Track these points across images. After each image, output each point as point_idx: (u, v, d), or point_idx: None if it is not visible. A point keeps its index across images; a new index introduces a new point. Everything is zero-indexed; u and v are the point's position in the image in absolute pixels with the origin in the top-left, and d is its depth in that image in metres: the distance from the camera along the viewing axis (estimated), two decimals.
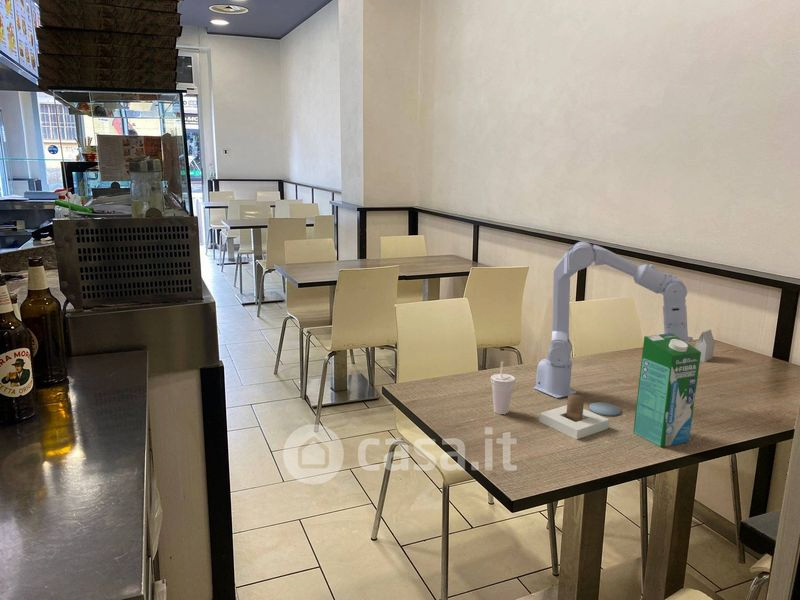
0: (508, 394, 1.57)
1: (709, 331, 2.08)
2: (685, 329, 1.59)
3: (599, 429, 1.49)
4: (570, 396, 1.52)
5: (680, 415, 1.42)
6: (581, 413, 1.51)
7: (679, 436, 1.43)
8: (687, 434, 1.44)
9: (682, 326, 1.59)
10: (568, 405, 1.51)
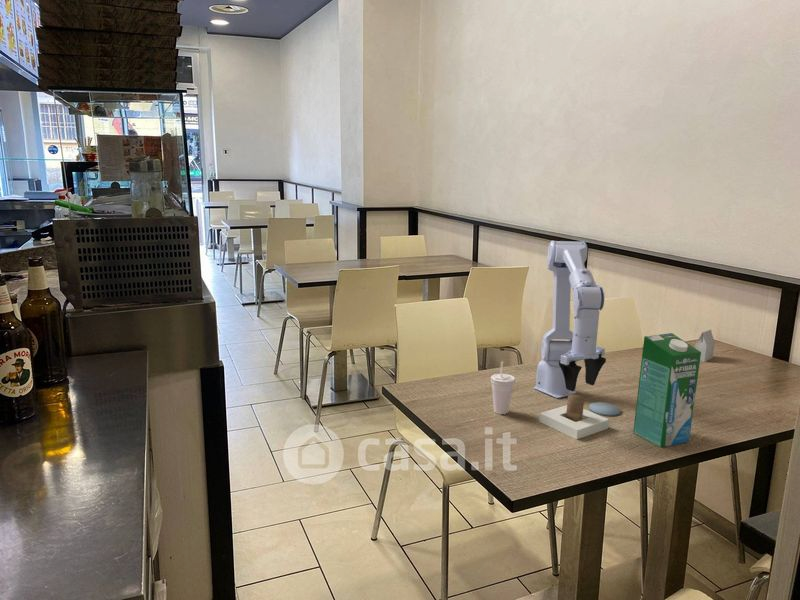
0: (508, 394, 1.57)
1: (709, 331, 2.08)
2: (586, 344, 1.45)
3: (599, 429, 1.49)
4: (570, 396, 1.52)
5: (680, 415, 1.42)
6: (581, 413, 1.51)
7: (679, 436, 1.43)
8: (687, 434, 1.44)
9: (582, 339, 1.45)
10: (568, 405, 1.51)
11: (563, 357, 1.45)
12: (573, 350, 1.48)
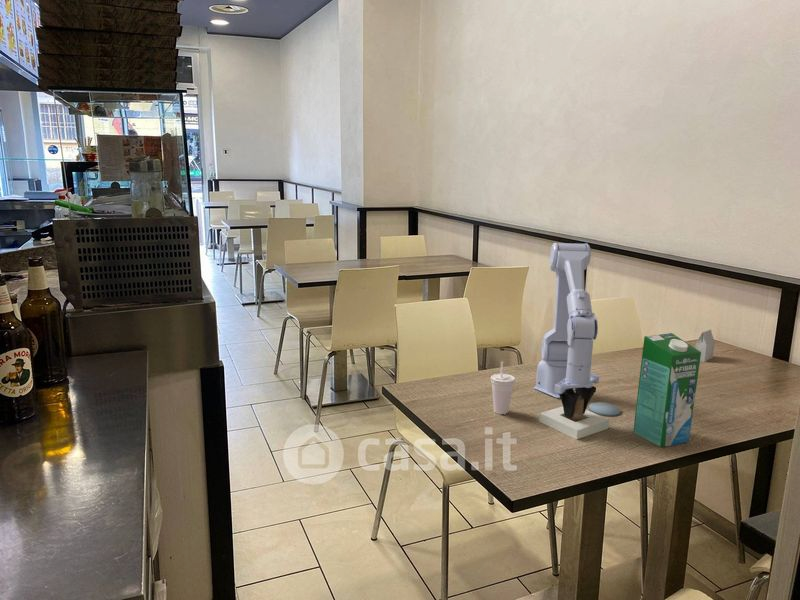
0: (508, 394, 1.57)
1: (709, 331, 2.08)
2: (580, 373, 1.47)
3: (599, 429, 1.49)
4: None
5: (680, 415, 1.42)
6: (581, 413, 1.51)
7: (679, 436, 1.43)
8: (687, 434, 1.44)
9: (576, 368, 1.47)
10: None
11: (557, 386, 1.47)
12: (567, 378, 1.50)
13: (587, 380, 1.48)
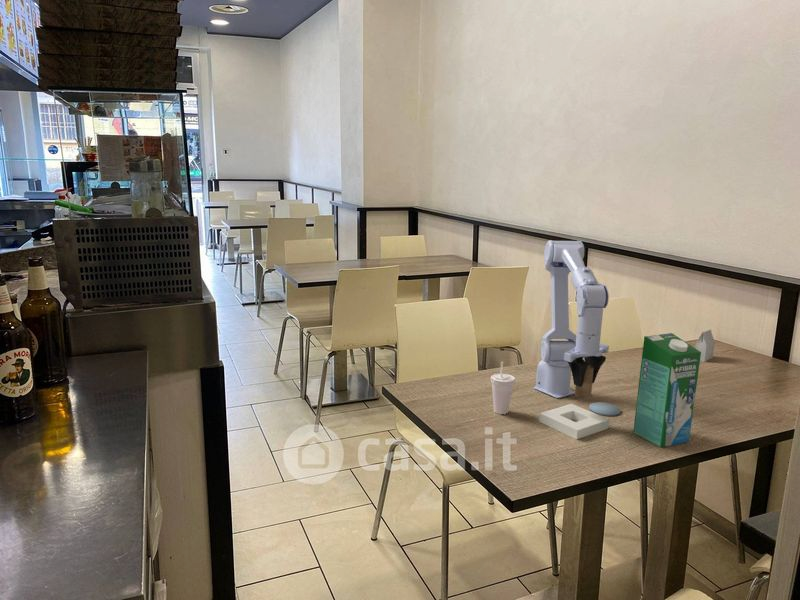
0: (508, 394, 1.57)
1: (709, 331, 2.08)
2: (590, 341, 1.48)
3: (599, 429, 1.49)
4: None
5: (680, 415, 1.42)
6: (591, 382, 1.51)
7: (679, 436, 1.43)
8: (687, 434, 1.44)
9: (586, 337, 1.48)
10: None
11: (567, 354, 1.47)
12: (577, 347, 1.50)
13: (597, 349, 1.49)
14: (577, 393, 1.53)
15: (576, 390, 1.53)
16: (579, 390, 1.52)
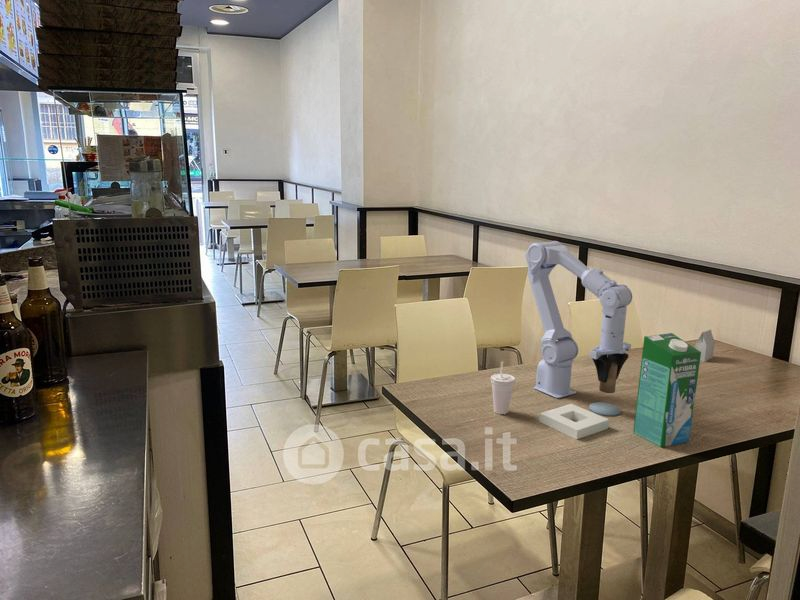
0: (508, 394, 1.57)
1: (709, 331, 2.08)
2: (614, 339, 1.56)
3: (599, 429, 1.49)
4: None
5: (680, 415, 1.42)
6: (615, 378, 1.59)
7: (679, 436, 1.43)
8: (687, 434, 1.44)
9: (610, 335, 1.56)
10: None
11: (592, 352, 1.55)
12: (601, 345, 1.58)
13: (620, 346, 1.57)
14: (601, 389, 1.60)
15: (601, 386, 1.61)
16: (604, 386, 1.60)
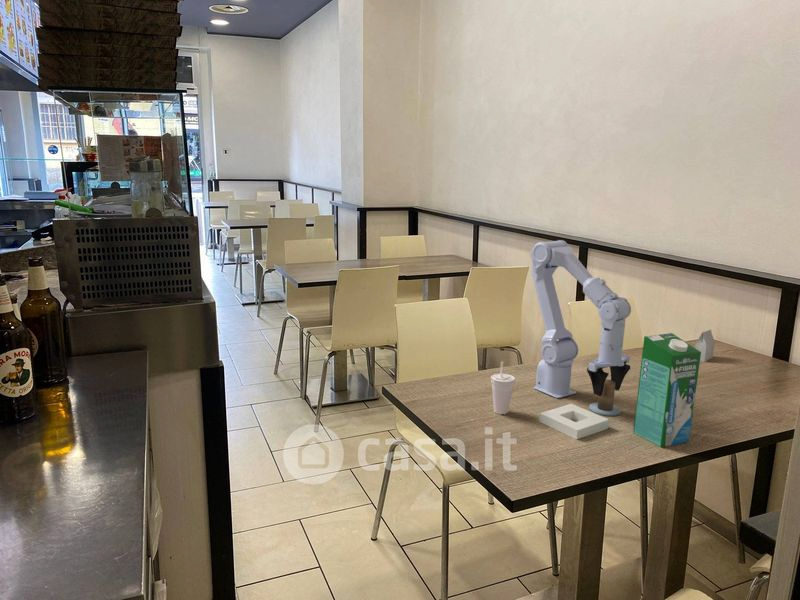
0: (508, 394, 1.57)
1: (709, 331, 2.08)
2: (613, 352, 1.56)
3: (599, 429, 1.49)
4: None
5: (680, 415, 1.42)
6: (612, 396, 1.60)
7: (679, 436, 1.43)
8: (687, 434, 1.44)
9: (609, 348, 1.56)
10: None
11: (591, 364, 1.56)
12: (600, 358, 1.59)
13: (619, 359, 1.57)
14: (599, 407, 1.62)
15: (599, 404, 1.62)
16: (602, 404, 1.61)
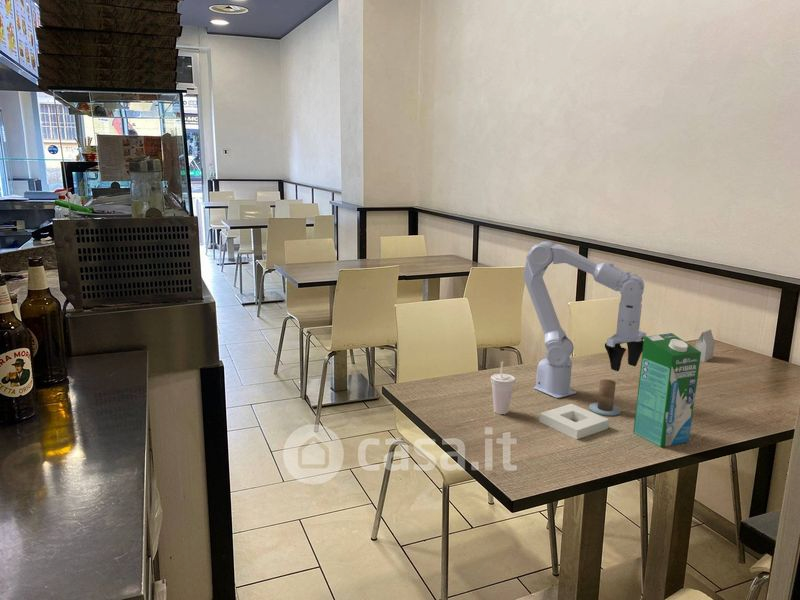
0: (508, 394, 1.57)
1: (709, 331, 2.08)
2: (630, 328, 1.60)
3: (599, 429, 1.49)
4: (602, 381, 1.62)
5: (680, 415, 1.42)
6: (612, 397, 1.60)
7: (679, 436, 1.43)
8: (687, 434, 1.44)
9: (627, 324, 1.60)
10: (600, 389, 1.61)
11: (609, 340, 1.60)
12: (618, 334, 1.63)
13: (636, 335, 1.61)
14: (599, 407, 1.62)
15: (599, 404, 1.62)
16: (602, 404, 1.61)
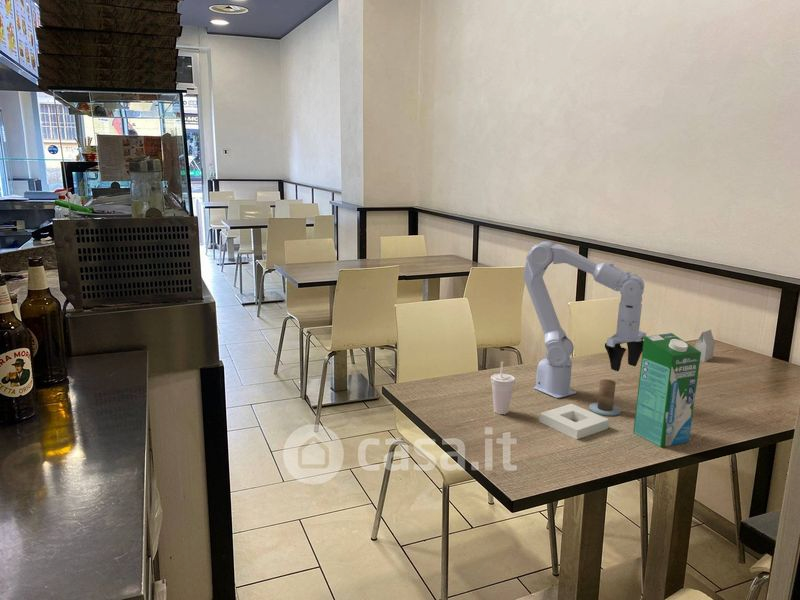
0: (508, 394, 1.57)
1: (709, 331, 2.08)
2: (630, 328, 1.60)
3: (599, 429, 1.49)
4: (602, 381, 1.62)
5: (680, 415, 1.42)
6: (612, 396, 1.60)
7: (679, 436, 1.43)
8: (687, 434, 1.44)
9: (627, 324, 1.60)
10: (600, 389, 1.61)
11: (609, 340, 1.60)
12: (618, 334, 1.63)
13: (636, 335, 1.61)
14: (599, 407, 1.62)
15: (599, 404, 1.62)
16: (602, 404, 1.61)
